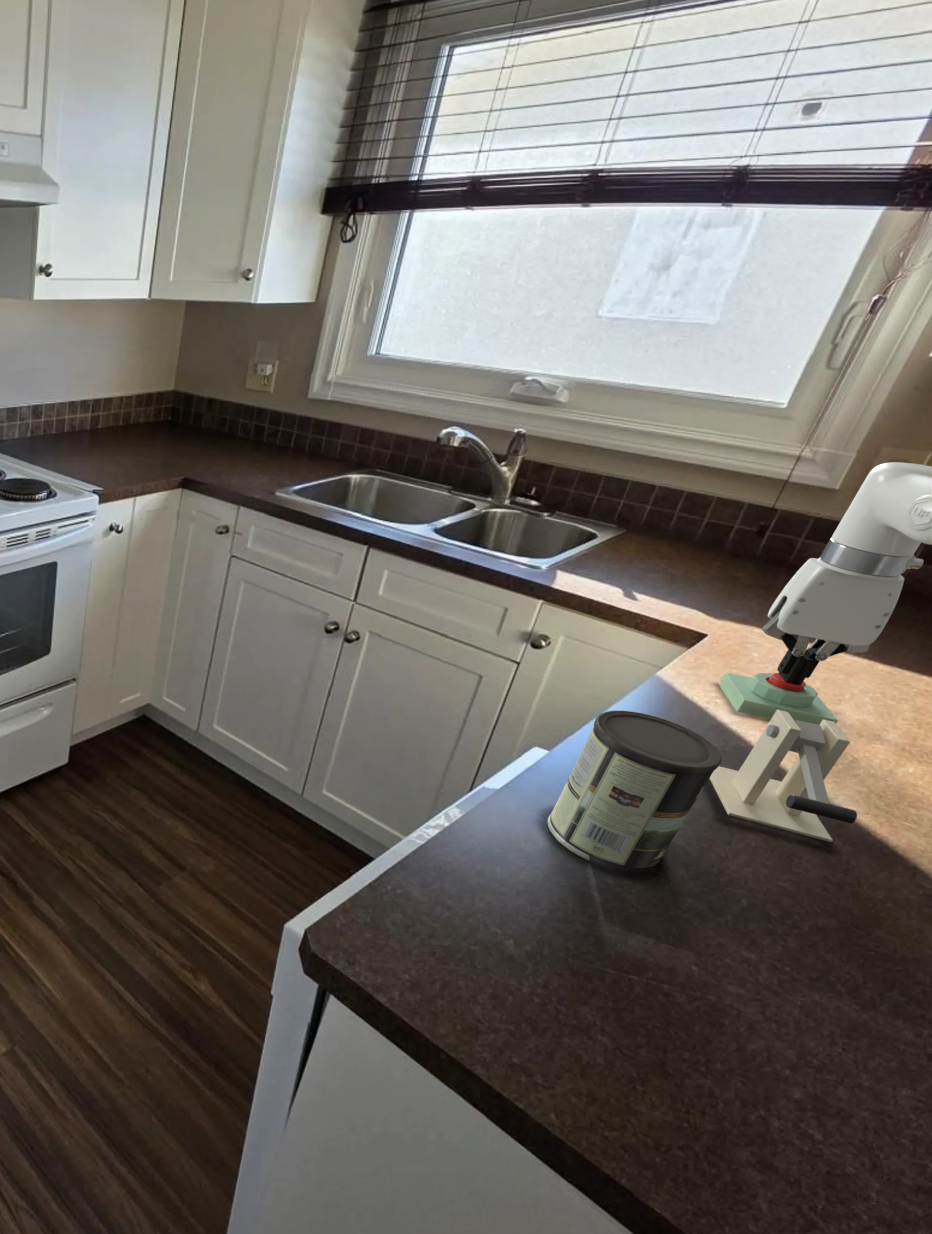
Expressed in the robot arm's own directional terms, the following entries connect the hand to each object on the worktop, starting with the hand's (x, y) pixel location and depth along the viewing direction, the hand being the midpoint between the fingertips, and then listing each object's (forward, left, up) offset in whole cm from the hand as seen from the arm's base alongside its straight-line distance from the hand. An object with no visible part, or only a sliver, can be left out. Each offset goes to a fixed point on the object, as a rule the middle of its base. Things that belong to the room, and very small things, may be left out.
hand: (789, 678), depth 110 cm
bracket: (+9, +30, -5) cm, 32 cm away
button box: (0, 0, -5) cm, 5 cm away
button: (0, 0, -2) cm, 2 cm away
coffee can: (+27, +47, -5) cm, 54 cm away
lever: (+9, +34, +2) cm, 35 cm away
